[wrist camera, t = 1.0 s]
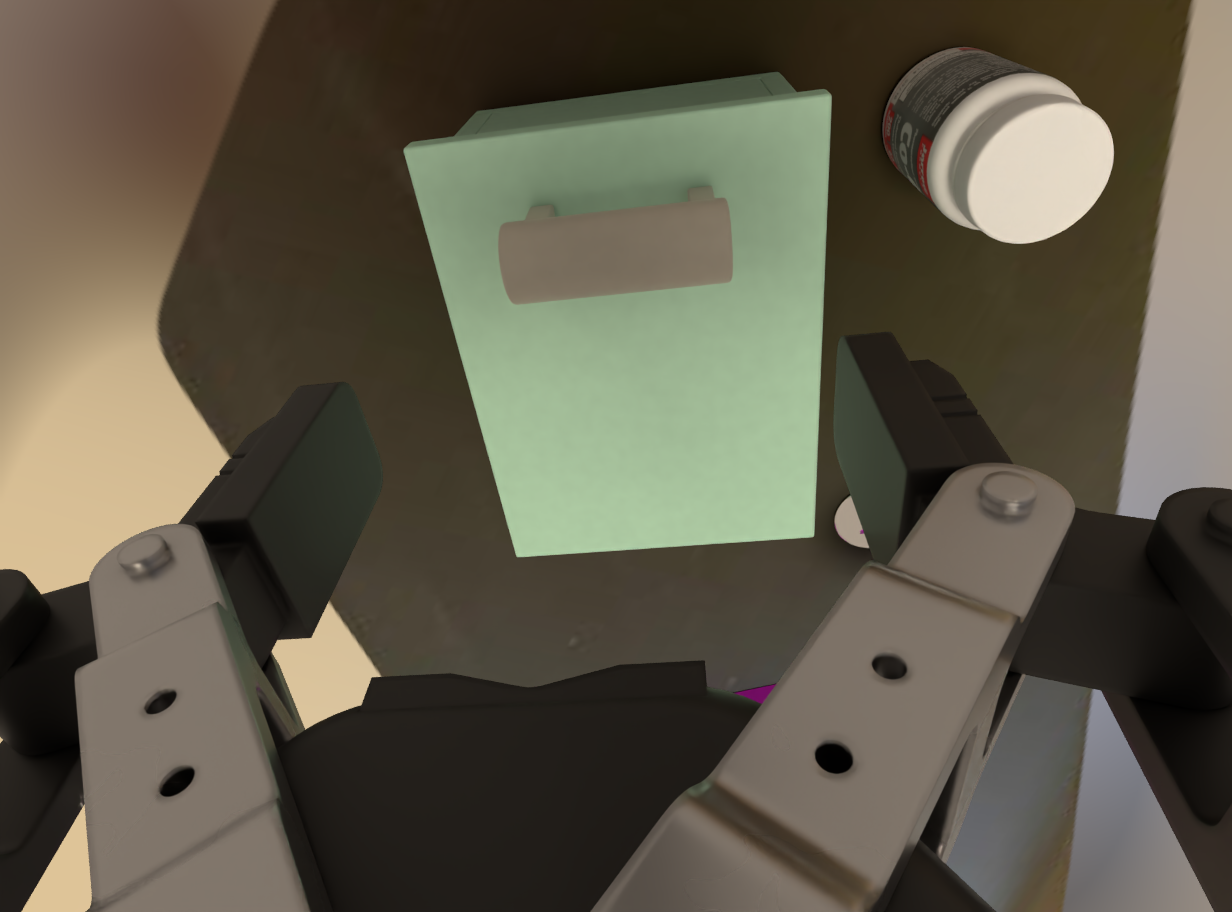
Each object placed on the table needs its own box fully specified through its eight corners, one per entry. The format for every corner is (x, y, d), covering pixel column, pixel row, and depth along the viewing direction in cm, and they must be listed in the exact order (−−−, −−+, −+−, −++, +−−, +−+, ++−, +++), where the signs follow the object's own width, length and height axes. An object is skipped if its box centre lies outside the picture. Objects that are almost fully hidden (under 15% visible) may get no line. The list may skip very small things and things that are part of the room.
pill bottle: (855, 113, 28) (921, 174, 21) (970, 14, 26) (1083, 46, 19) (921, 204, 30) (1000, 286, 23) (1032, 118, 28) (1154, 181, 21)
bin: (475, 110, 29) (418, 173, 22) (779, 71, 27) (825, 123, 20) (544, 424, 37) (519, 543, 30) (778, 403, 36) (810, 523, 29)
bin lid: (409, 141, 21) (347, 198, 17) (826, 88, 20) (875, 133, 15) (518, 544, 30) (497, 648, 26) (810, 524, 29) (839, 629, 24)
